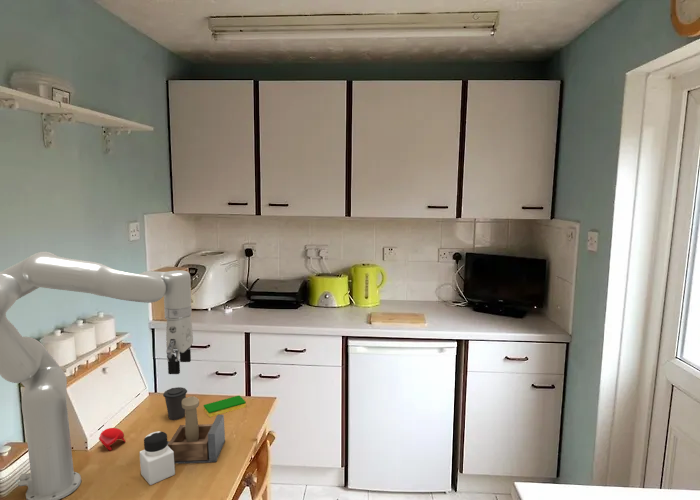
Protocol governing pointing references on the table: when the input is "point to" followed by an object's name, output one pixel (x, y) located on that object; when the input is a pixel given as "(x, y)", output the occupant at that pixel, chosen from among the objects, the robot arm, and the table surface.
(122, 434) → the red curved legged piece
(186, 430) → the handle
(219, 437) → the track
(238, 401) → the dish sponge
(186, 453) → the open wooden box
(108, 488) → the table surface
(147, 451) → the medicine bottle
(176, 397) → the coffee cup
